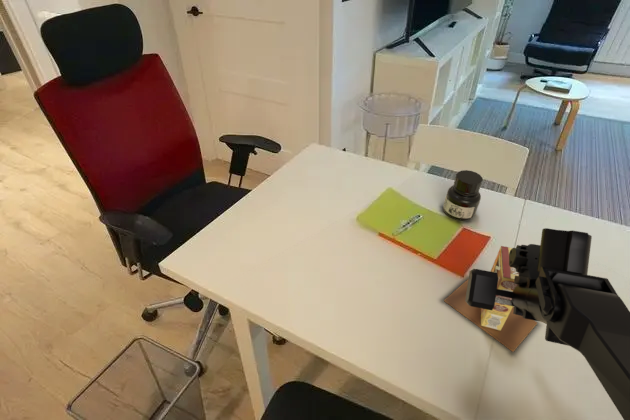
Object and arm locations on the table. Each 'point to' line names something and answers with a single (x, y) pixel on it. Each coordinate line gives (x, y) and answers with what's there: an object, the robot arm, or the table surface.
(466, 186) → the ink bottle
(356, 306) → the table surface
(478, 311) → the cork mat
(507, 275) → the candy box
